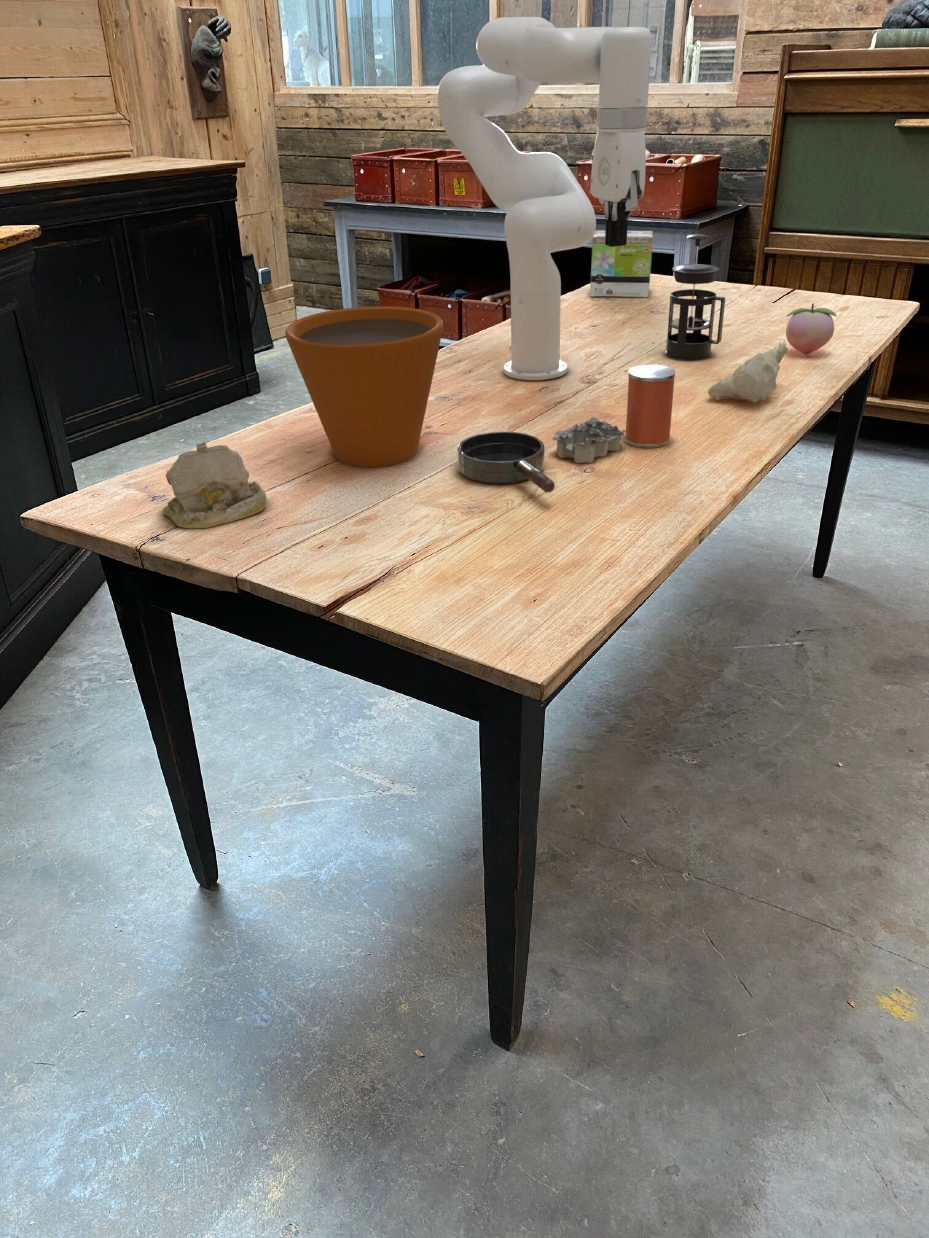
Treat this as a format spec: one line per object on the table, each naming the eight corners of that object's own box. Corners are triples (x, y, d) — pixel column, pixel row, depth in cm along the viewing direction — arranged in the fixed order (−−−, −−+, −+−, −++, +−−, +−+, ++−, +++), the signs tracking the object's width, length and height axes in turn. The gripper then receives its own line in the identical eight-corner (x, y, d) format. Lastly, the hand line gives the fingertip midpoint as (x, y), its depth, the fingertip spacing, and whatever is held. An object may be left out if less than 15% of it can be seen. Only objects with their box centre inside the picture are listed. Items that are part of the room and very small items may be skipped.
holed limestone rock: (727, 424, 162) (805, 369, 156) (703, 390, 162) (780, 333, 156) (734, 423, 176) (805, 373, 170) (711, 391, 176) (782, 340, 170)
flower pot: (286, 439, 158) (268, 318, 147) (418, 416, 165) (410, 299, 155) (325, 489, 139) (308, 353, 128) (472, 460, 146) (467, 330, 136)
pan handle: (514, 471, 136) (514, 459, 135) (525, 469, 137) (525, 457, 136) (545, 495, 129) (545, 483, 128) (557, 493, 129) (557, 480, 128)
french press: (654, 357, 192) (662, 237, 180) (671, 346, 199) (681, 229, 187) (709, 364, 186) (722, 241, 175) (725, 352, 193) (738, 233, 181)
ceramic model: (171, 535, 127) (155, 465, 122) (159, 505, 136) (144, 439, 130) (273, 515, 131) (262, 447, 126) (255, 487, 140) (245, 422, 135)
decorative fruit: (824, 348, 193) (832, 298, 188) (833, 359, 186) (842, 307, 181) (777, 348, 194) (784, 298, 189) (785, 359, 187) (792, 308, 182)
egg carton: (583, 467, 143) (584, 441, 141) (547, 454, 148) (547, 429, 145) (629, 448, 149) (630, 423, 146) (593, 436, 153) (594, 412, 151)
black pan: (445, 462, 146) (444, 440, 144) (520, 448, 150) (520, 426, 148) (479, 491, 136) (478, 468, 134) (559, 475, 140) (559, 452, 138)
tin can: (616, 437, 153) (620, 369, 147) (653, 430, 155) (658, 362, 150) (640, 451, 147) (644, 380, 142) (678, 443, 150) (684, 373, 144)
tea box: (589, 298, 240) (591, 236, 233) (591, 289, 249) (593, 230, 241) (649, 298, 238) (653, 235, 230) (649, 289, 247) (652, 229, 239)
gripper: (578, 119, 151) (574, 240, 161) (624, 124, 139) (617, 255, 149) (619, 117, 153) (613, 236, 163) (668, 122, 141) (659, 250, 151)
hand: (615, 245), depth 156 cm, fingers closed
